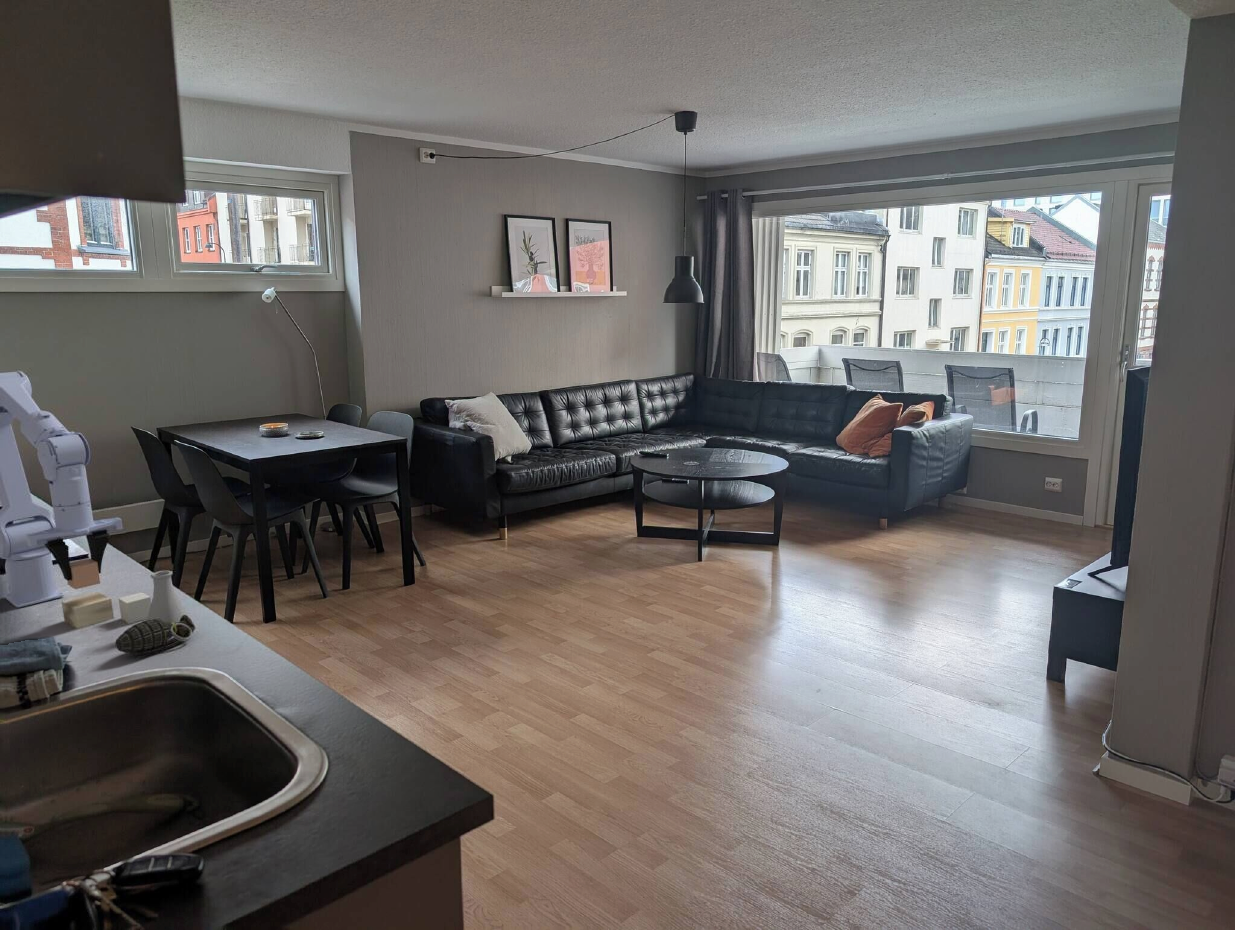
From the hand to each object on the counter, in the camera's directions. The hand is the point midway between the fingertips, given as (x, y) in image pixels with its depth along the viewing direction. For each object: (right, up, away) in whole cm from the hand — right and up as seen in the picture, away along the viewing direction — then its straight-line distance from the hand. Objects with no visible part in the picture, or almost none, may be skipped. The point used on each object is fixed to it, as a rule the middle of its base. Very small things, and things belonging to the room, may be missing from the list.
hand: (82, 575), depth 153 cm
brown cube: (0, -2, 0) cm, 2 cm away
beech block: (0, -8, +2) cm, 9 cm away
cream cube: (+9, -8, +2) cm, 12 cm away
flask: (+17, -9, -2) cm, 19 cm away
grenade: (+20, -11, -11) cm, 25 cm away
